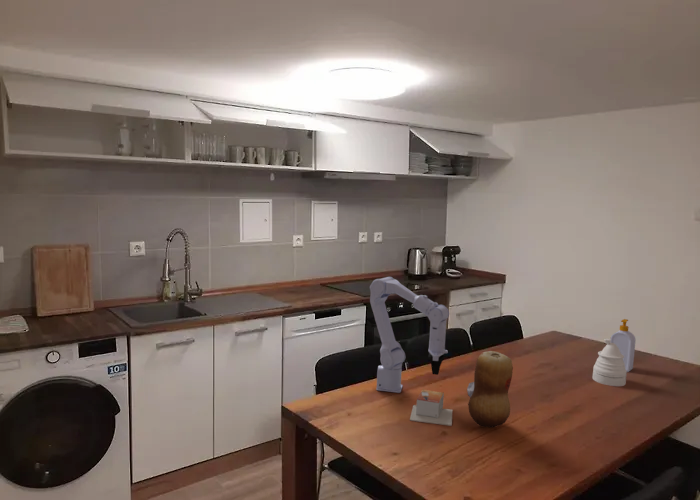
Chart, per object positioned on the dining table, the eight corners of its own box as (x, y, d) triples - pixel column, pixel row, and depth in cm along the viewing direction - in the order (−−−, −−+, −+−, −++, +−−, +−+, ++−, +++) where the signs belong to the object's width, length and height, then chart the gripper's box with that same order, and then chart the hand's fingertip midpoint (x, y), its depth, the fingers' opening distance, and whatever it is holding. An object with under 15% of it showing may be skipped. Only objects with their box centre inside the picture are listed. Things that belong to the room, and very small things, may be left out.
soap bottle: (633, 369, 239) (638, 320, 236) (628, 372, 234) (633, 322, 231) (612, 364, 245) (616, 316, 242) (607, 367, 240) (612, 319, 237)
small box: (444, 392, 186) (439, 403, 176) (443, 407, 187) (438, 418, 177) (422, 388, 189) (416, 399, 179) (421, 403, 189) (415, 414, 179)
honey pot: (593, 383, 218) (596, 341, 216) (591, 373, 230) (595, 334, 228) (627, 388, 214) (631, 346, 212) (623, 378, 225) (627, 338, 224)
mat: (409, 420, 175) (409, 419, 175) (413, 406, 188) (413, 405, 188) (451, 425, 172) (451, 424, 172) (452, 410, 185) (452, 409, 185)
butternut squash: (502, 438, 164) (507, 362, 162) (461, 427, 171) (466, 354, 169) (513, 423, 176) (518, 352, 173) (475, 413, 183) (479, 344, 180)
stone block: (469, 403, 197) (495, 401, 195) (467, 391, 196) (494, 389, 194) (467, 393, 208) (493, 391, 206) (466, 381, 208) (491, 379, 206)
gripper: (447, 344, 183) (445, 381, 184) (448, 334, 197) (446, 368, 198) (427, 342, 184) (425, 379, 186) (430, 332, 198) (428, 366, 200)
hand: (435, 373), depth 192 cm, fingers closed
